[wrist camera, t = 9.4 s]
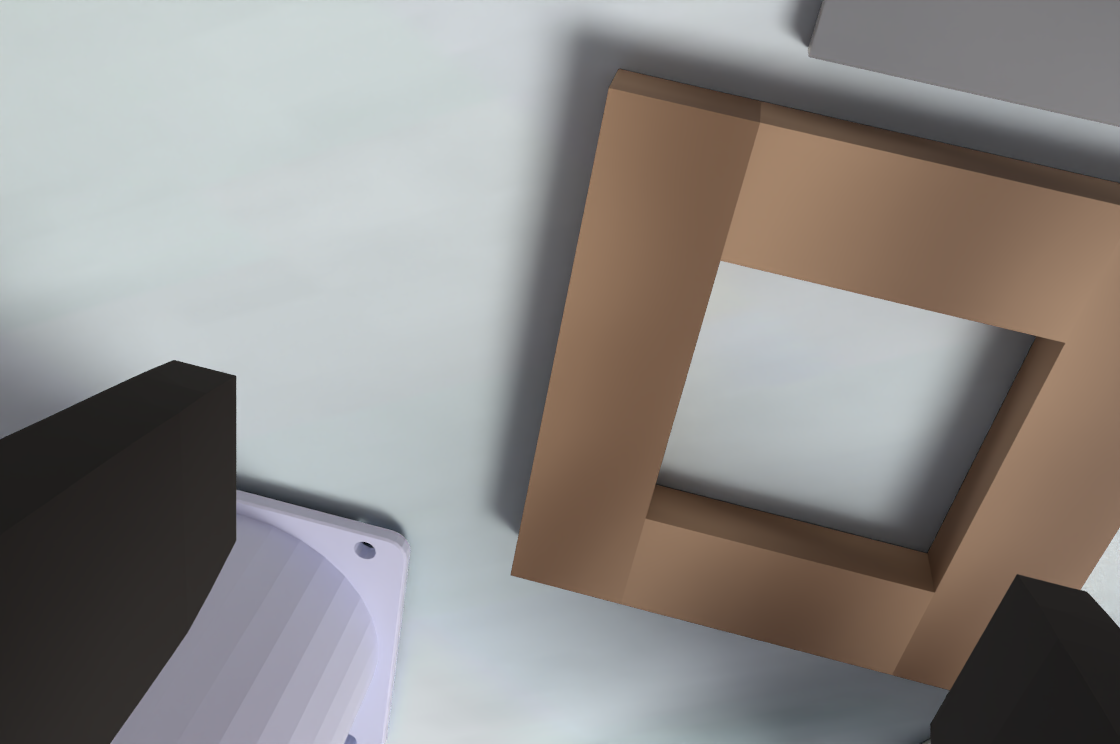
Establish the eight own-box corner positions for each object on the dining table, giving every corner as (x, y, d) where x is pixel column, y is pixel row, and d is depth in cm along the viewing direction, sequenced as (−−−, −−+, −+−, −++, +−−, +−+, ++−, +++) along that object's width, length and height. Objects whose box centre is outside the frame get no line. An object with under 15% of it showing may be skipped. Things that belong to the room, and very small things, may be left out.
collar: (522, 540, 23) (510, 575, 22) (618, 68, 17) (608, 88, 16) (997, 663, 23) (1007, 705, 22) (1265, 216, 17) (1296, 246, 16)
